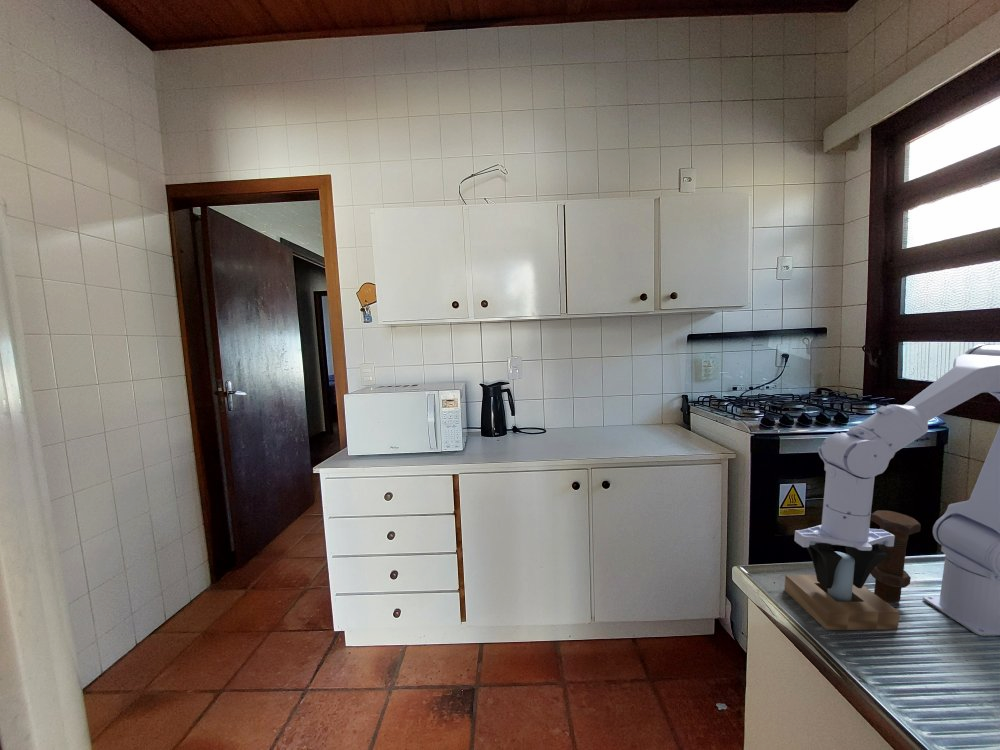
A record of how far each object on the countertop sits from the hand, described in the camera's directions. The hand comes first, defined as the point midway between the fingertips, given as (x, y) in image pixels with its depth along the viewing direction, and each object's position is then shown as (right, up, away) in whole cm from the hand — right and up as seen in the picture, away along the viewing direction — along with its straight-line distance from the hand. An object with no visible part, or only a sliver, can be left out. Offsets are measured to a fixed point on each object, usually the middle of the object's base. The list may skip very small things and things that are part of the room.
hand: (839, 584), depth 63 cm
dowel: (0, -4, 0) cm, 4 cm away
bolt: (+11, -4, +3) cm, 12 cm away
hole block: (0, -4, +1) cm, 4 cm away
